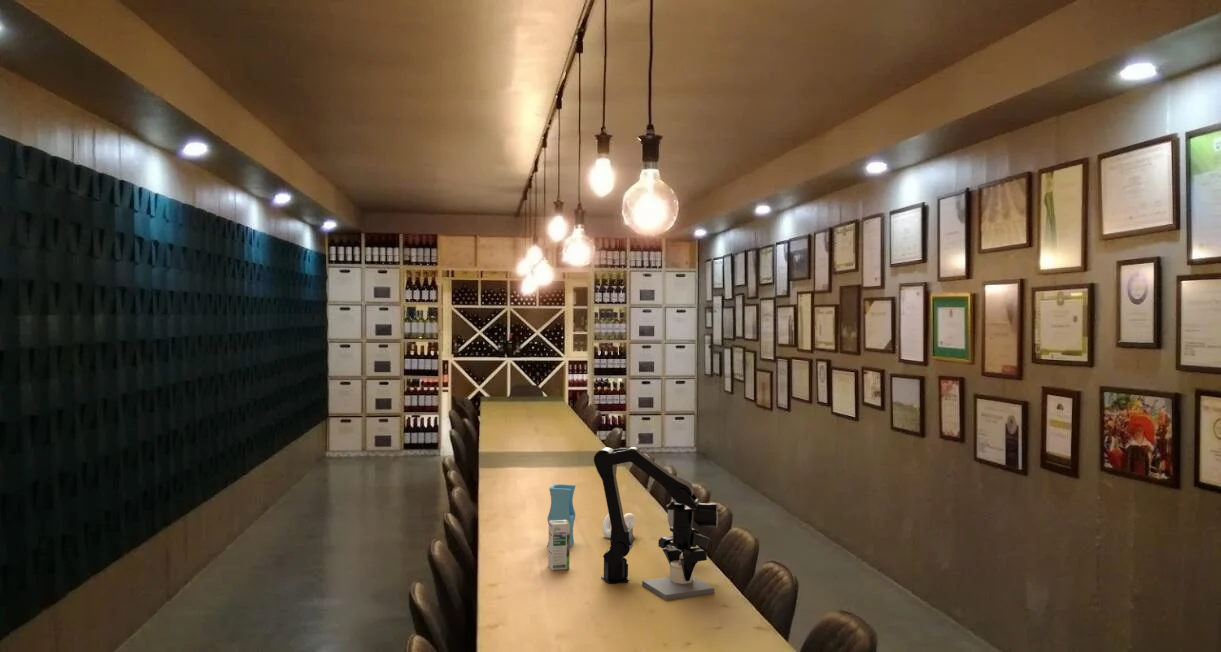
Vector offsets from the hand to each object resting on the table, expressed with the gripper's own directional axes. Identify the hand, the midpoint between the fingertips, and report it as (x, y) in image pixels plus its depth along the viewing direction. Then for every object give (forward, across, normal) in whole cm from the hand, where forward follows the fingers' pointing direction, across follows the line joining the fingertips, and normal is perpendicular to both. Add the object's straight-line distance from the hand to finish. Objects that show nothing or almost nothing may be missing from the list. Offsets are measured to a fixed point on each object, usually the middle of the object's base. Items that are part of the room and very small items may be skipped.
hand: (681, 577), depth 246 cm
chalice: (+2, +22, -11) cm, 25 cm away
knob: (+1, 0, 0) cm, 1 cm away
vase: (+2, +55, +16) cm, 57 cm away
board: (+2, -3, +3) cm, 5 cm away
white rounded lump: (+2, +56, -6) cm, 56 cm away
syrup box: (+2, +30, +27) cm, 40 cm away
